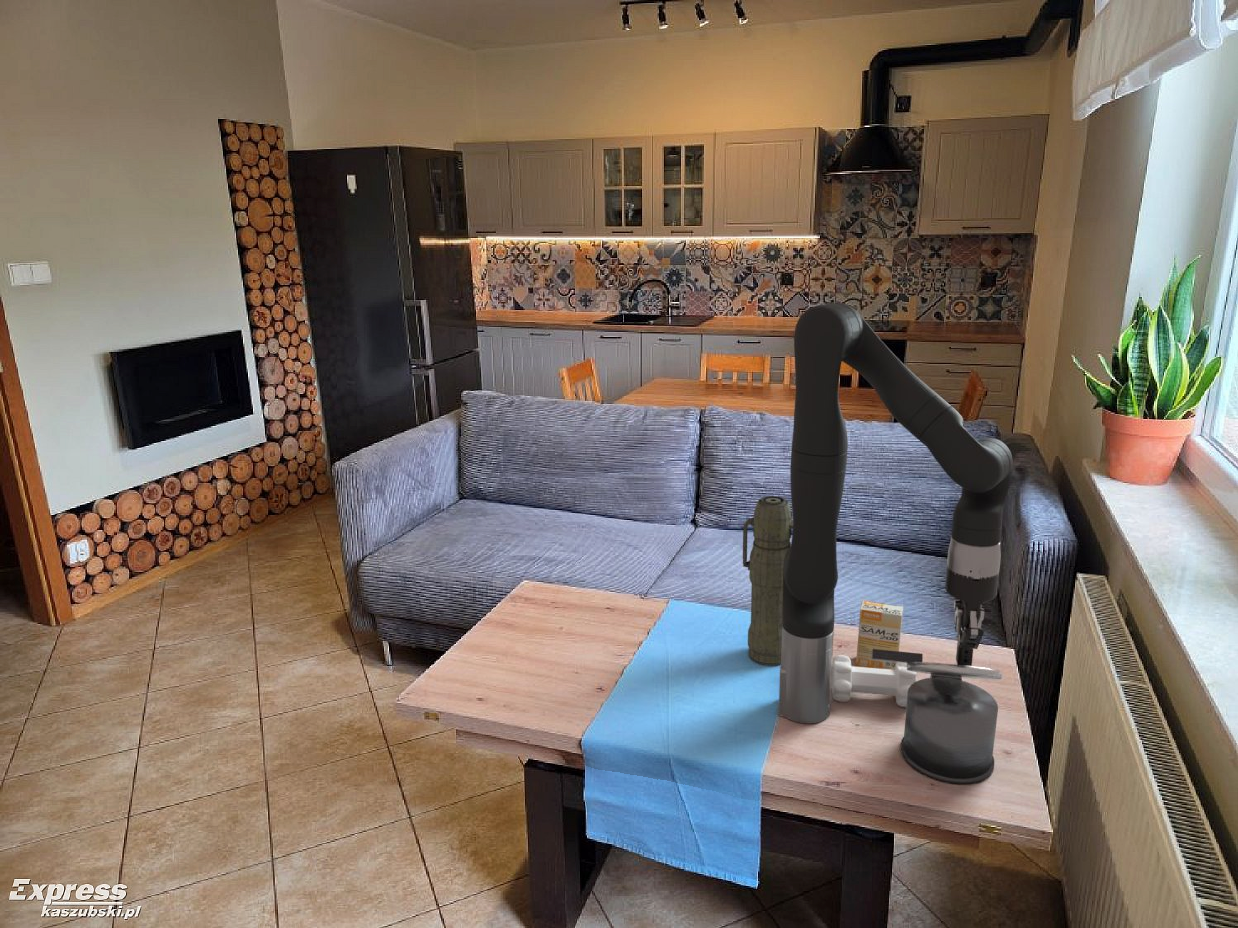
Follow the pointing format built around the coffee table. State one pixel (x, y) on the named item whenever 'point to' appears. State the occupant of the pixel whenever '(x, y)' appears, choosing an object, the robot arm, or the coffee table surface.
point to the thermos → (767, 577)
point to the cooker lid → (935, 665)
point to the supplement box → (878, 633)
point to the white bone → (870, 680)
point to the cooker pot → (950, 730)
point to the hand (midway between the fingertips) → (963, 664)
